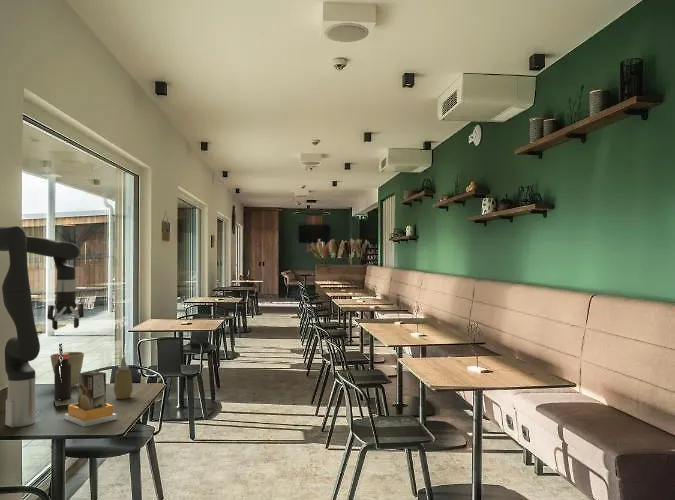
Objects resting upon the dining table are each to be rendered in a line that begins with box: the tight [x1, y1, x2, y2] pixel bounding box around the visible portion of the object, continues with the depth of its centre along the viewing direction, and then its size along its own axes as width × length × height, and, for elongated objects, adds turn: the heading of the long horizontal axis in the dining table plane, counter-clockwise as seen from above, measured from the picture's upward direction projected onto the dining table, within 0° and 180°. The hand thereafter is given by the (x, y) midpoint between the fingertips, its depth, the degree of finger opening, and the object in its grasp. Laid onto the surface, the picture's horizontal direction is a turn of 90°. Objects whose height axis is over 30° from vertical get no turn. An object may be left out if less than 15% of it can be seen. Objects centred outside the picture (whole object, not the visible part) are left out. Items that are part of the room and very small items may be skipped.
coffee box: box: [77, 370, 107, 410], centre depth 225 cm, size 9×6×16 cm
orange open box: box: [63, 402, 118, 428], centre depth 225 cm, size 13×16×6 cm
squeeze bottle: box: [113, 357, 134, 400], centre depth 259 cm, size 8×8×18 cm
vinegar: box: [53, 352, 72, 401], centre depth 258 cm, size 7×7×20 cm
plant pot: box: [50, 351, 85, 389], centre depth 282 cm, size 15×15×16 cm
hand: (65, 328), depth 244 cm, fingers open, 8 cm apart
